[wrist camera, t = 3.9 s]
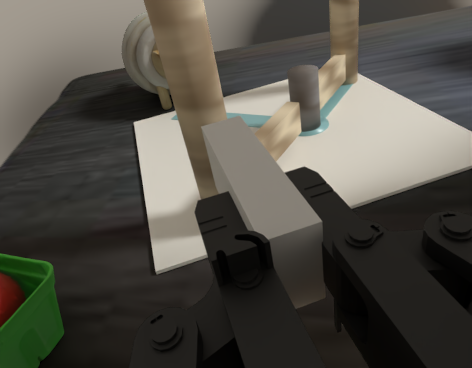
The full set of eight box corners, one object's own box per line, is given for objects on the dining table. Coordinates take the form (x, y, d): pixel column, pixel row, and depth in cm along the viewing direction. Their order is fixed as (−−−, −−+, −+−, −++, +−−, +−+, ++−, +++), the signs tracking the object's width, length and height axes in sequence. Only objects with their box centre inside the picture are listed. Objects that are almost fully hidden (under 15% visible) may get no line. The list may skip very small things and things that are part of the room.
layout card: (340, 66, 50) (340, 63, 50) (510, 155, 29) (511, 151, 29) (134, 124, 46) (133, 121, 46) (156, 274, 25) (155, 270, 25)
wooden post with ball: (335, 77, 47) (330, -140, 35) (362, 78, 46) (367, -150, 34) (287, 133, 38) (258, -139, 26) (319, 137, 36) (305, -152, 24)
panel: (279, 129, 37) (248, -138, 25) (312, 133, 35) (294, -152, 24) (194, 220, 28) (83, -133, 16) (232, 231, 26) (139, -154, 14)
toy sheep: (158, 127, 45) (126, 30, 38) (123, 91, 57) (95, 14, 51) (235, 97, 48) (218, 4, 41) (186, 70, 61) (167, -5, 54)
